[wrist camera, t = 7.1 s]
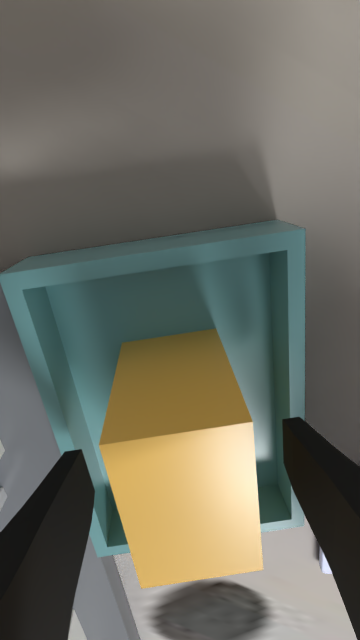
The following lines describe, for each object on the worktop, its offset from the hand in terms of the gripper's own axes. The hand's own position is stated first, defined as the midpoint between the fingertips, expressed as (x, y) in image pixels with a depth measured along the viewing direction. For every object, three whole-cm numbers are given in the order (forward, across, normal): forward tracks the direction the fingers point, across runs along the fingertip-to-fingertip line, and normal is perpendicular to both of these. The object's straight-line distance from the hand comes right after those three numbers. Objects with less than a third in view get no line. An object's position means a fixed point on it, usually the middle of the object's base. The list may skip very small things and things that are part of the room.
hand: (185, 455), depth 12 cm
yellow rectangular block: (+4, 0, 0) cm, 4 cm away
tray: (+4, 0, 0) cm, 4 cm away
